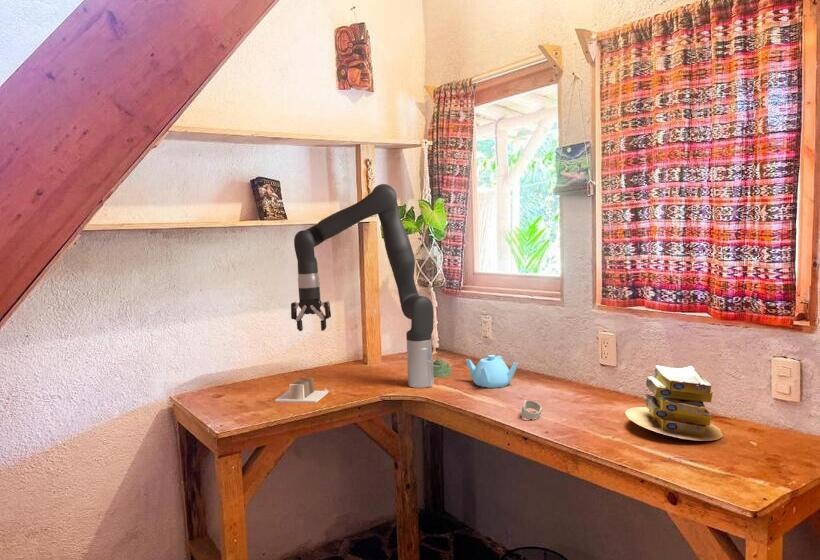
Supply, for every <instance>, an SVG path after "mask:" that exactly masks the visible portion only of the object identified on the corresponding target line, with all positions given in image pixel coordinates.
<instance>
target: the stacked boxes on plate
mask: <svg viewBox="0 0 820 560" xmlns="http://www.w3.org/2000/svg"><path fill="white" fill-rule="evenodd" d="M654 375H655V376H652V375H651V376H649V375H647V376H646V381H645V386H646V387H647V388H648V391H650V392H651V393H653V394H654V395H650V394H648V393H646V392H645V396H646V399H645V404H644V405H645V406H637V407H631V408H628V409H627V410H626V411H625V416H626V417H627V418H628V420H630V421H631V422H633V423H635V424H636V425H638V426H639V427H642V428H644V429H647V430H649V431H653V432H655V433H658V434H662V435H664V436H669V437H673V438H678V439H681V440H689V441H699V442H700V441H701V442H705V441H706V442H709V441H712V442H713V441H716V440H717V441H718V440H720V439H722V438H723V436H724V434H723V432H722V431H721V429H720V428H719V427H718V426H717V425H715V424H713V423H711V420H712V414H711V413H710V412H709V410H708V409H706V406H705V404H704V403H712V399H713V391H712V390H711V389H712V383H710V382H709V381H707V379H706V378H705V377H702V375H699V373H698V372H697V371H696V369H695V368H694V366H692V365H689V366H686V367H672V366H670V367H669V366H662V365H658V364H656V365H655V367H654Z"/></svg>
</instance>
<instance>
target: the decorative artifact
mask: <svg viewBox="0 0 820 560" xmlns="http://www.w3.org/2000/svg"><path fill="white" fill-rule="evenodd" d="M433 367H434V378H435V377H441V378H447V376H448V377H451V376H452V375H451V374H452V367H451V366H450V364H449V362H444V360H443V359H440V357H437V359H435V360H433ZM450 375H451V376H450Z"/></svg>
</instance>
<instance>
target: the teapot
mask: <svg viewBox="0 0 820 560" xmlns="http://www.w3.org/2000/svg"><path fill="white" fill-rule="evenodd" d="M465 362H466V365H467V368H468V371H469V374H470V377H471V378H472V381H473V383H475V385H476V386H477V385H478V386H477V387H479V386H481V387H480V388H484V387H487V388H486V389H499V387H501V388H504V387H507V386H508V385H509V384H510V383H511V381H512V380H513V378H514V375H515V373H516V370H517V368H518V366H519V362H513V363H512V365H511V367H510V368H509V367H508V365H507V364H506V363H505V361H504V359H503V356H502V355H495V354H488V355H487V357H486V358H485V357H484V358H482V359H479V361H478V363H477V364H476V365H475V364H474V363H473V361H472V360H471V359H467V358H466V359H465Z"/></svg>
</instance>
